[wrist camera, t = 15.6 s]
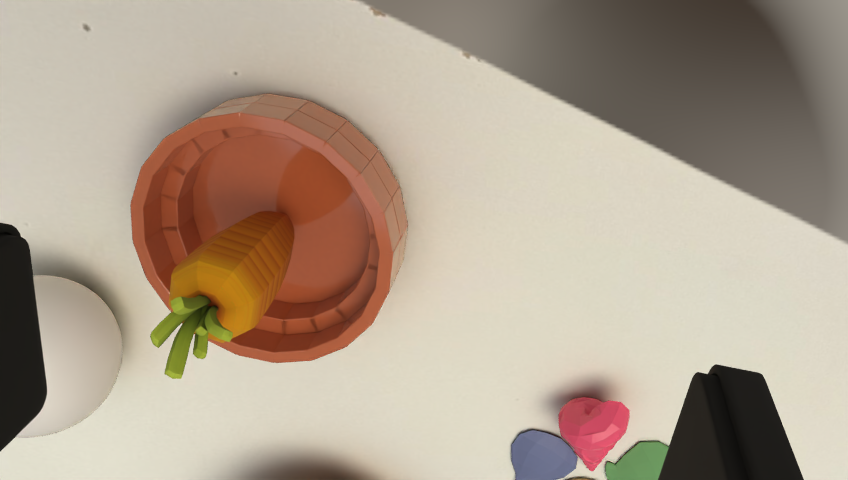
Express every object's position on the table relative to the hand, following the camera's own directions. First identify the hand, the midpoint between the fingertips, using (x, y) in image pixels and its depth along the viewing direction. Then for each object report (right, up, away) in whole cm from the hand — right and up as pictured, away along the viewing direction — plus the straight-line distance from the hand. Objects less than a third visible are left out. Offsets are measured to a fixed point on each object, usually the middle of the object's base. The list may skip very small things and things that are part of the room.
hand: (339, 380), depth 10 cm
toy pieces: (+12, -13, +41) cm, 45 cm away
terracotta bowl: (-7, +4, +37) cm, 38 cm away
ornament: (-23, -3, +44) cm, 50 cm away
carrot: (-7, +3, +37) cm, 38 cm away
